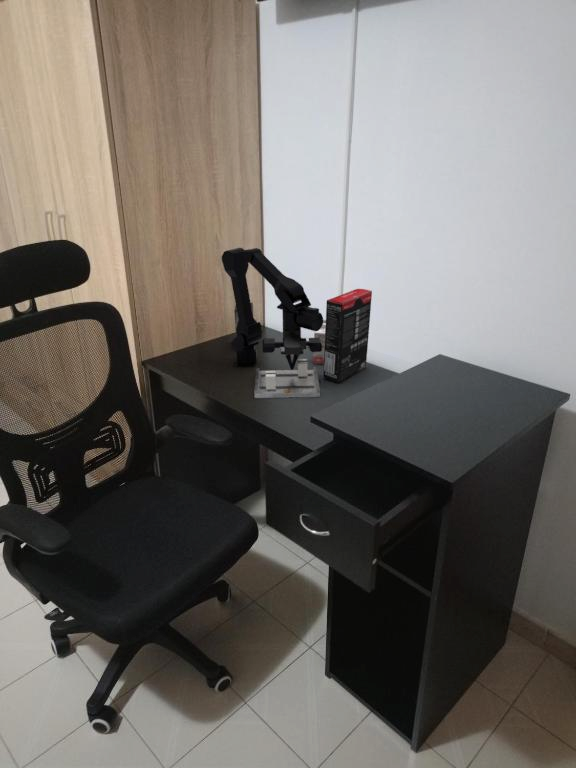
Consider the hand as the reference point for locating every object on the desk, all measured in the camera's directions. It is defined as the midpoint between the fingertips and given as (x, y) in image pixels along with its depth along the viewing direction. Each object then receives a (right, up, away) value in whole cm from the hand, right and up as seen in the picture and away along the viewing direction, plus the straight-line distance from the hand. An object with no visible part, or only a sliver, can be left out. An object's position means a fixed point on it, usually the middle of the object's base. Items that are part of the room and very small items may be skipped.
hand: (292, 369), depth 178 cm
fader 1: (-7, -5, -7) cm, 11 cm away
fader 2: (+3, -1, +1) cm, 4 cm away
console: (-2, -5, -2) cm, 6 cm away
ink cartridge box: (+12, +3, +14) cm, 19 cm away
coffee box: (-17, +9, +28) cm, 34 cm away
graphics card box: (+18, -1, +6) cm, 19 cm away
